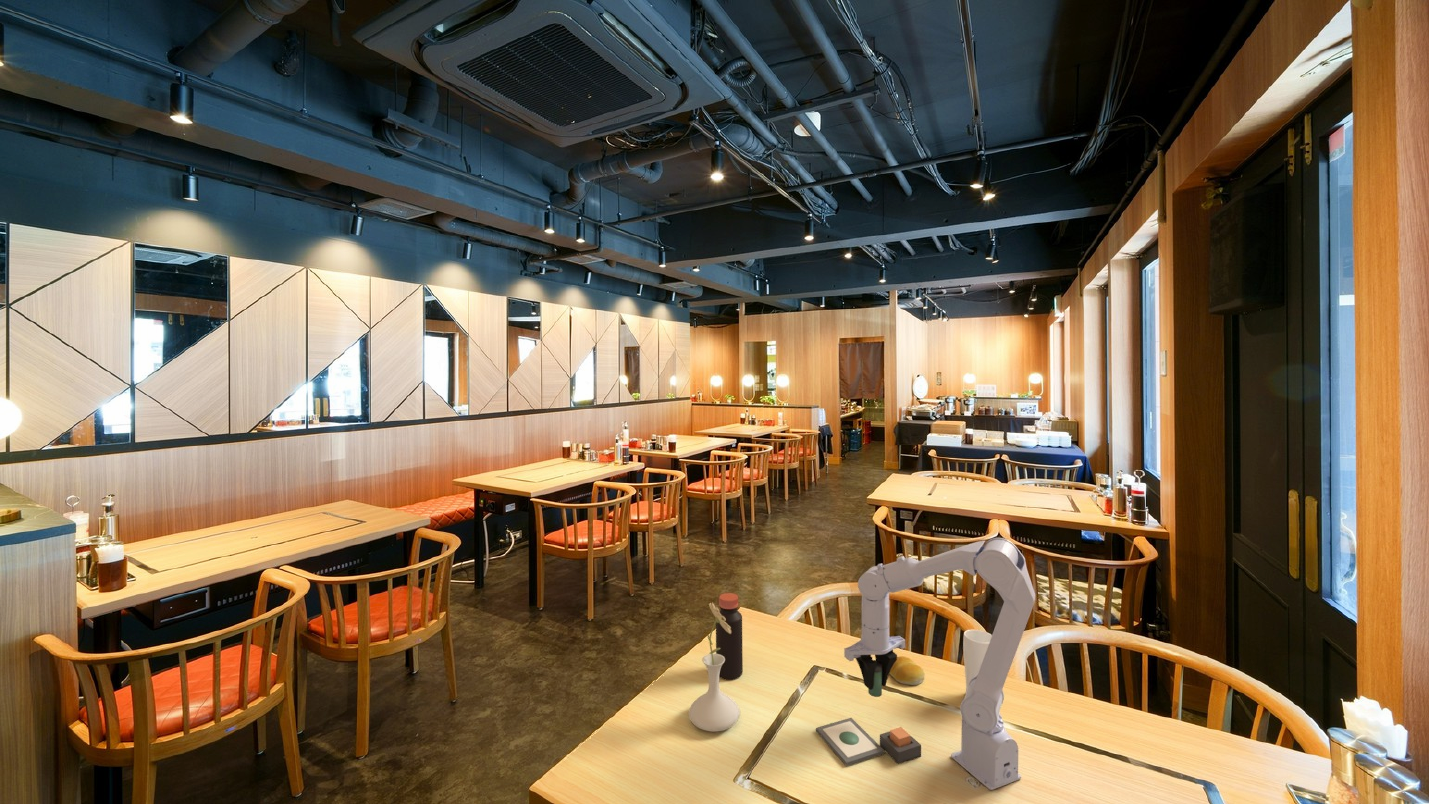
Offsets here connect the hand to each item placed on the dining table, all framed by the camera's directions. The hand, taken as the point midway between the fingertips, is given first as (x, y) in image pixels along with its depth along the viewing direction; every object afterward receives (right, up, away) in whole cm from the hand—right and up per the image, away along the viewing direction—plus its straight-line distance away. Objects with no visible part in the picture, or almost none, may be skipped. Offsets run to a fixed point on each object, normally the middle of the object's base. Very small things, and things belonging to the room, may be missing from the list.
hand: (875, 685), depth 114 cm
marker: (0, -2, 0) cm, 2 cm away
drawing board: (-7, -9, -5) cm, 13 cm away
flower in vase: (-35, -9, +3) cm, 36 cm away
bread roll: (+14, -8, +19) cm, 25 cm away
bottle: (-31, -8, +21) cm, 38 cm away
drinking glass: (+27, -8, +9) cm, 30 cm away
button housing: (+3, -9, -8) cm, 12 cm away
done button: (+3, -7, -8) cm, 11 cm away
